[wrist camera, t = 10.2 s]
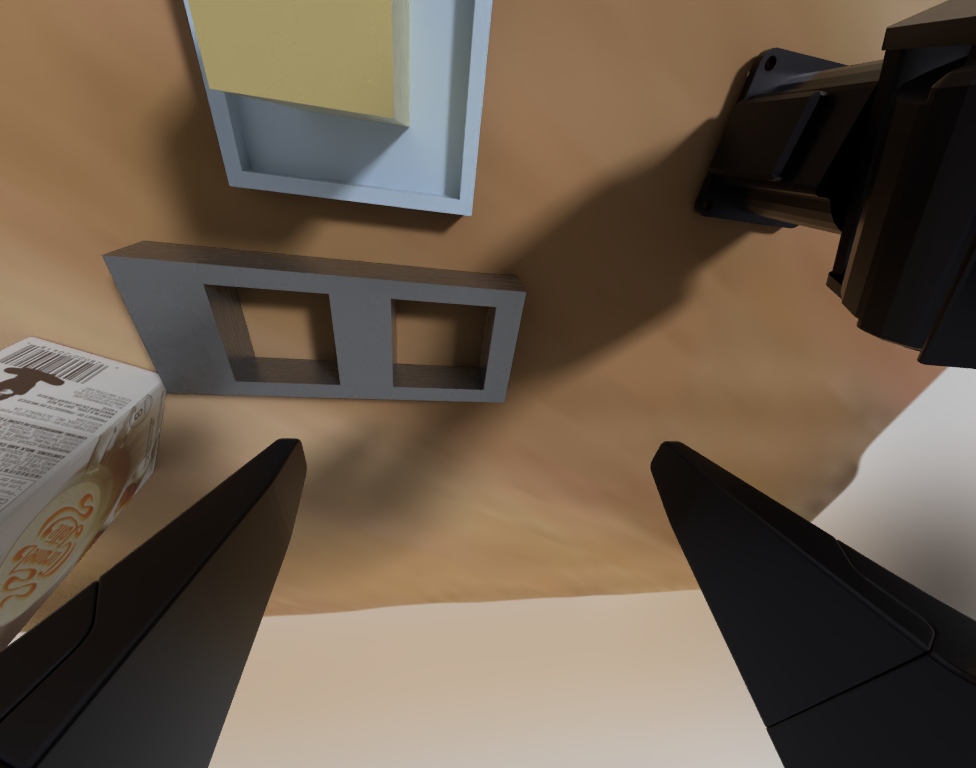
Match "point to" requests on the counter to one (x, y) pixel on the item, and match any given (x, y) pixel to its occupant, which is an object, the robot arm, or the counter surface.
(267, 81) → the brushed brass block
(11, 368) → the coffee box
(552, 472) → the counter surface
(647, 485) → the counter surface
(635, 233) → the counter surface
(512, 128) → the counter surface
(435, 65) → the tray
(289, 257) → the plate with rectangular hole
